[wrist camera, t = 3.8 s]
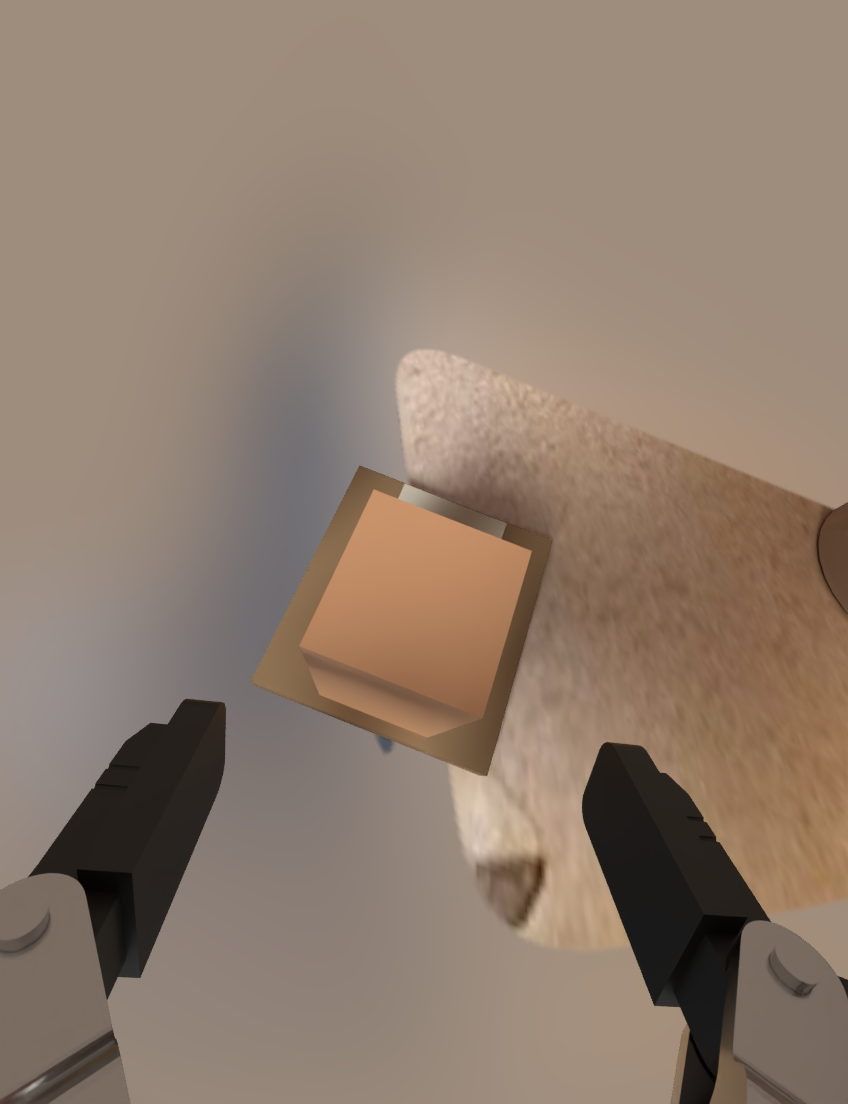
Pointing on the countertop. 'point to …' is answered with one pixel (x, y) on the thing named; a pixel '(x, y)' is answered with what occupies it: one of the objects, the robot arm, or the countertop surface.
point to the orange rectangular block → (415, 618)
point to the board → (284, 657)
